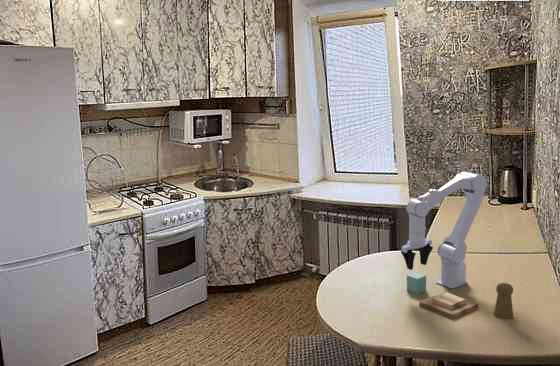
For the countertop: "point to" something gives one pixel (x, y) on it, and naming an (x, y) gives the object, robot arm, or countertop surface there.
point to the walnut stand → (448, 305)
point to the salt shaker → (504, 301)
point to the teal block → (416, 283)
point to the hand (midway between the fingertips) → (416, 266)
